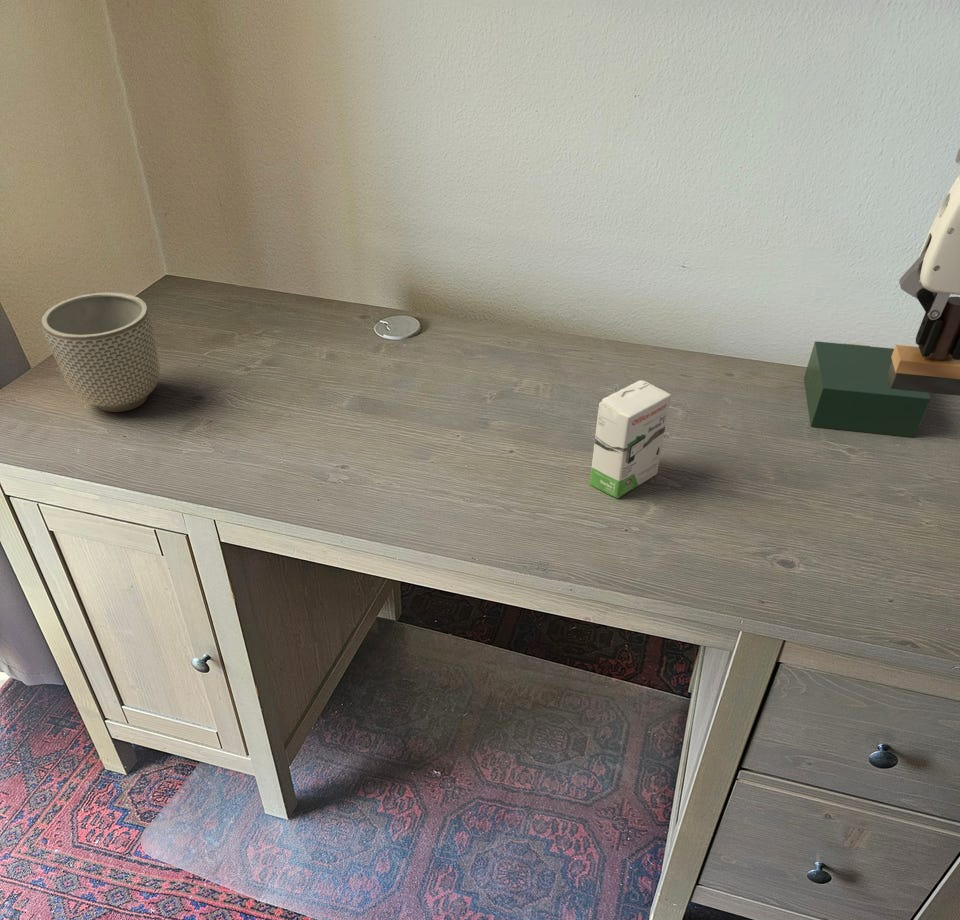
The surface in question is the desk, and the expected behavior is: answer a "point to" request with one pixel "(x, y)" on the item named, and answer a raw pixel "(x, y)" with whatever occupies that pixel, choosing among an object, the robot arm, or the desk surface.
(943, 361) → the brush
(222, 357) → the desk surface
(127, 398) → the planter
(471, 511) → the desk surface
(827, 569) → the desk surface
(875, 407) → the enamel box
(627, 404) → the ink box
